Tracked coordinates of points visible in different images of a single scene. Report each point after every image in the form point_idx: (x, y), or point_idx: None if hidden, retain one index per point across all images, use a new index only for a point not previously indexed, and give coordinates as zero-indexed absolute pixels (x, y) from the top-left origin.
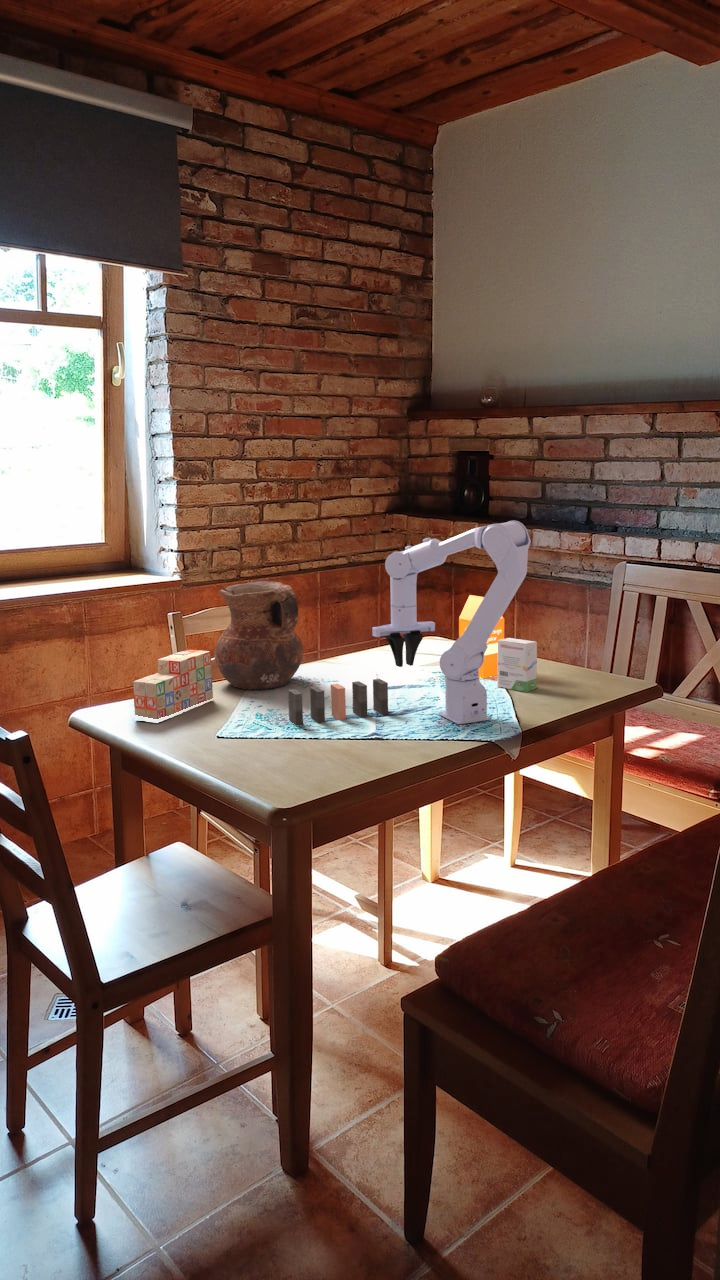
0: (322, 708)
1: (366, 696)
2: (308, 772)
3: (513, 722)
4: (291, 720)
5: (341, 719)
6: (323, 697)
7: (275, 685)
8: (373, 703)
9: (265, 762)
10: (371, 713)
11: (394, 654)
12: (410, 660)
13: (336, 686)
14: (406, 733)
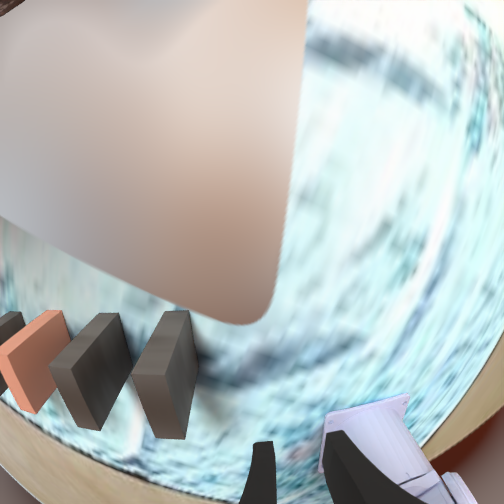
0: None
1: (111, 405)
2: (58, 492)
3: None
4: None
5: None
6: (2, 391)
7: (19, 1)
8: (159, 322)
9: (9, 450)
10: None
11: (249, 495)
12: (328, 483)
13: (10, 385)
14: (197, 478)
